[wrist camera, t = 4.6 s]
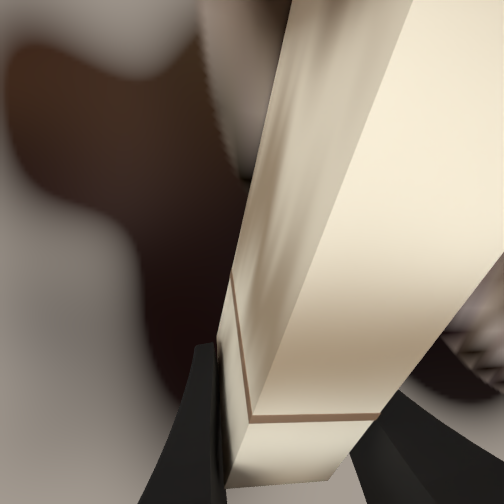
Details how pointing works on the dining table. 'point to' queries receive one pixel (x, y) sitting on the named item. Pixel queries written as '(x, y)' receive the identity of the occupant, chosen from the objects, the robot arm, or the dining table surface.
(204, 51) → the dining table surface
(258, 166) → the cream block
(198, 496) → the robot arm
